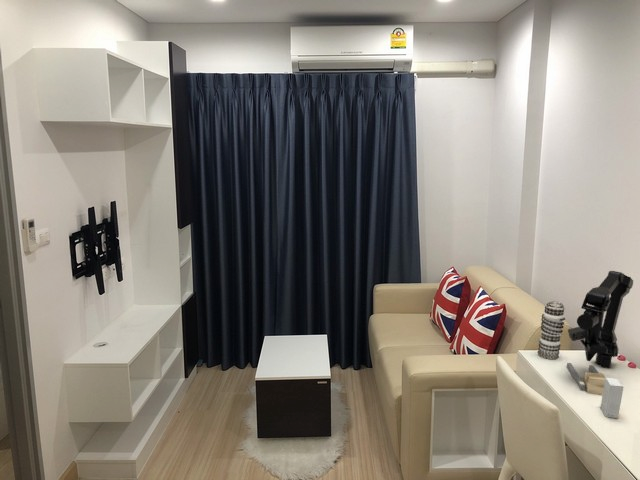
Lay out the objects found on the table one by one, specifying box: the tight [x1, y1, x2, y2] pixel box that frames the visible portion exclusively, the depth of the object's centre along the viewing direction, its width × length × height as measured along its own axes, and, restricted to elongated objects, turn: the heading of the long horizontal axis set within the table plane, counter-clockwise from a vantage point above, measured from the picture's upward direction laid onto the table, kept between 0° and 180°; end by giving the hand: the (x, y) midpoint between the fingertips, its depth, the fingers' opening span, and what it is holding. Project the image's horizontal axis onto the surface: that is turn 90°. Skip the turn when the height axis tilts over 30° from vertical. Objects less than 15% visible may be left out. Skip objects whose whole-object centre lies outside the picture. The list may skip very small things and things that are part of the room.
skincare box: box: [600, 377, 625, 419], centre depth 184 cm, size 6×4×12 cm
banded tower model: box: [537, 300, 566, 360], centre depth 225 cm, size 9×9×25 cm
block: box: [583, 371, 606, 395], centre depth 198 cm, size 5×6×6 cm
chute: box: [566, 362, 599, 392], centre depth 207 cm, size 20×12×3 cm, turn 169°
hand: (588, 360), depth 207 cm, fingers closed
